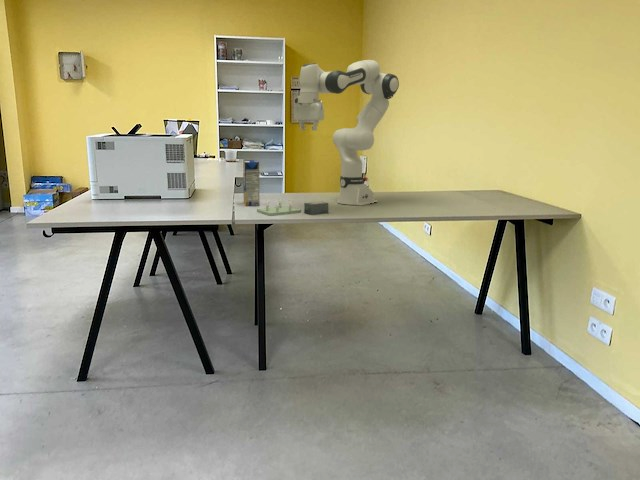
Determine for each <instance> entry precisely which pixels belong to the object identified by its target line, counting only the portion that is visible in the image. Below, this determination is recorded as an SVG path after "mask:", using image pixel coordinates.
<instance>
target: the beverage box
mask: <svg viewBox="0 0 640 480" xmlns="http://www.w3.org/2000/svg"><path fill="white" fill-rule="evenodd" d="M242 169H243V170H242V171H243V172H242V173H243V176H242V177H243V178H242V179H243V181H242V182H243V204H244V206H245V207H260V161H258V160H257V159H256V160H255V159H254V160H253V159H251V160H250V159H246V160H245V159H243V160H242Z"/></svg>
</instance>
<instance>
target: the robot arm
mask: <svg viewBox="0 0 640 480" xmlns="http://www.w3.org/2000/svg"><path fill="white" fill-rule="evenodd" d="M380 68H381V66H380V64H379V63H378V62H377V61H376V60H373V59H365V60H364V59H363V60H358V61H355V62H353V63H351V64H349V65H348V66H347V69H346V71H342V70H339V69H337V70H333V71H325V70H323V69H322V68H321V67H320V66H319V64H318V63H316V62H312V63H304V64H303V65H302V66H301V68H300V72H299V73H300V74H299V85H300V90H299V95H297V97H295V98H294V99H293V104H294V105H293V118H294V120H296V121H298V123H299V126H300V130H301V131H305V130H306V126H305V121H312V123H313V125H312V126H311V130H312V132H313V131H317V130H318V129H317V127H318V125H319V121H324V118H325V107H324V104H323V101H322V99H320V98H319V95H320V94H335V95H336V94H339V95H340V94H342V93H344V91H346V89H347V88H349V87H350V86H360V89H361V91H362V93H364V94H366V95H371V98H370V100H369V101H367V103H366V104H365V106H363V108H362V109H361V111H360V112H359V113H358V114H357V116H356V122H357V125H356V126H355V127H353V128H351V127H349V128H348V127H344V128H339V129H337V130H335V131H334V133H333V135H332V141H333V144H334V146H335V147H336V148H337V150H338V153H339V157H340V162H341V164H340V169H341V170H340V176H339V177H340V178H339V183H340V185H339V194H338V199H337V201H336V202H337V204H341V205H350V206H354V205H355V206H365V205H371V204H370V203H372V204H375V203H374V202H377V203H378V200H377V199H375V198H374V192H373V190H372V189H371V188H370V187H369V186H367V185H366V184H365V182H368V180H369V178H368V177H366V176H365V177H363V160H362V159H361V158H360V157H359V155H358V151H362V152H363V151H366V150H369V149H372V147H373V146H374V143H375V137H374V134H373V133H374V130H375V128H376V127H377V126H378V125H379V122H380V121H381V120H382V119H383V117H384V116H385V114H386V112H387V110H388V108H389V107H390V101H389V100H390V99H392V98H393V97H394V95H395V94H396V93H397V91H398V89H399V86H400V81H399V78H398V76H397V75H395V74H393V73H385V72H381V69H380Z"/></svg>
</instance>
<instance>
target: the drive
mask: <svg viewBox="0 0 640 480" xmlns="http://www.w3.org/2000/svg"><path fill="white" fill-rule="evenodd" d="M303 205H304V209H303V210H304V211H303V213H304V214H305V215H309V216H315V215H324V214H329V202H325V201H314V202H304V203H303Z"/></svg>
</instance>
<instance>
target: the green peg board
mask: <svg viewBox="0 0 640 480" xmlns="http://www.w3.org/2000/svg"><path fill="white" fill-rule="evenodd" d="M275 204H276V206H275V207H274V206H273V207H270V200H268V199H267V200H266V202H265V208H257V209H256V212H257V213H258V214H259V213H260V214H261V215H266V216H269V217H273V216H274V217H275V216H281V215H282V216H283V215H291V214H300V213H301V212H302V211H301V209H298V208H295V207H292V199H289V200H288V205H285V206H283V205H282V199H281V198H280V199H278V202H276V203H275Z"/></svg>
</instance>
